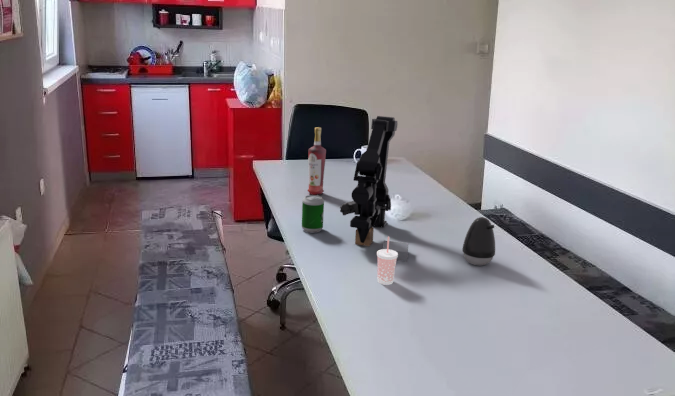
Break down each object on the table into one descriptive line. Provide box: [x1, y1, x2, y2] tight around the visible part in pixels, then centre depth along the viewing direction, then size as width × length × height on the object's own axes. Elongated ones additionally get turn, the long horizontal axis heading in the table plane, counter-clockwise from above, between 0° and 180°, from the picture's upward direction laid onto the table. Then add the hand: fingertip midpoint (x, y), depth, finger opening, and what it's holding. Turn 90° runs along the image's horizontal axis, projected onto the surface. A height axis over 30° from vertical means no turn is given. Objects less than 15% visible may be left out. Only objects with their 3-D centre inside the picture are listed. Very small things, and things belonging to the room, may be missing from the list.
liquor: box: [307, 126, 327, 196], centre depth 260 cm, size 7×7×28 cm
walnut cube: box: [354, 227, 375, 247], centre depth 213 cm, size 5×5×5 cm
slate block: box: [382, 240, 410, 262], centre depth 203 cm, size 8×8×4 cm
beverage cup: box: [376, 235, 398, 286], centre depth 182 cm, size 6×6×14 cm
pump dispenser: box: [461, 216, 496, 267], centre depth 199 cm, size 10×10×15 cm
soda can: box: [301, 194, 325, 234], centre depth 221 cm, size 8×8×12 cm
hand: (364, 239), depth 213 cm, fingers open, 5 cm apart
